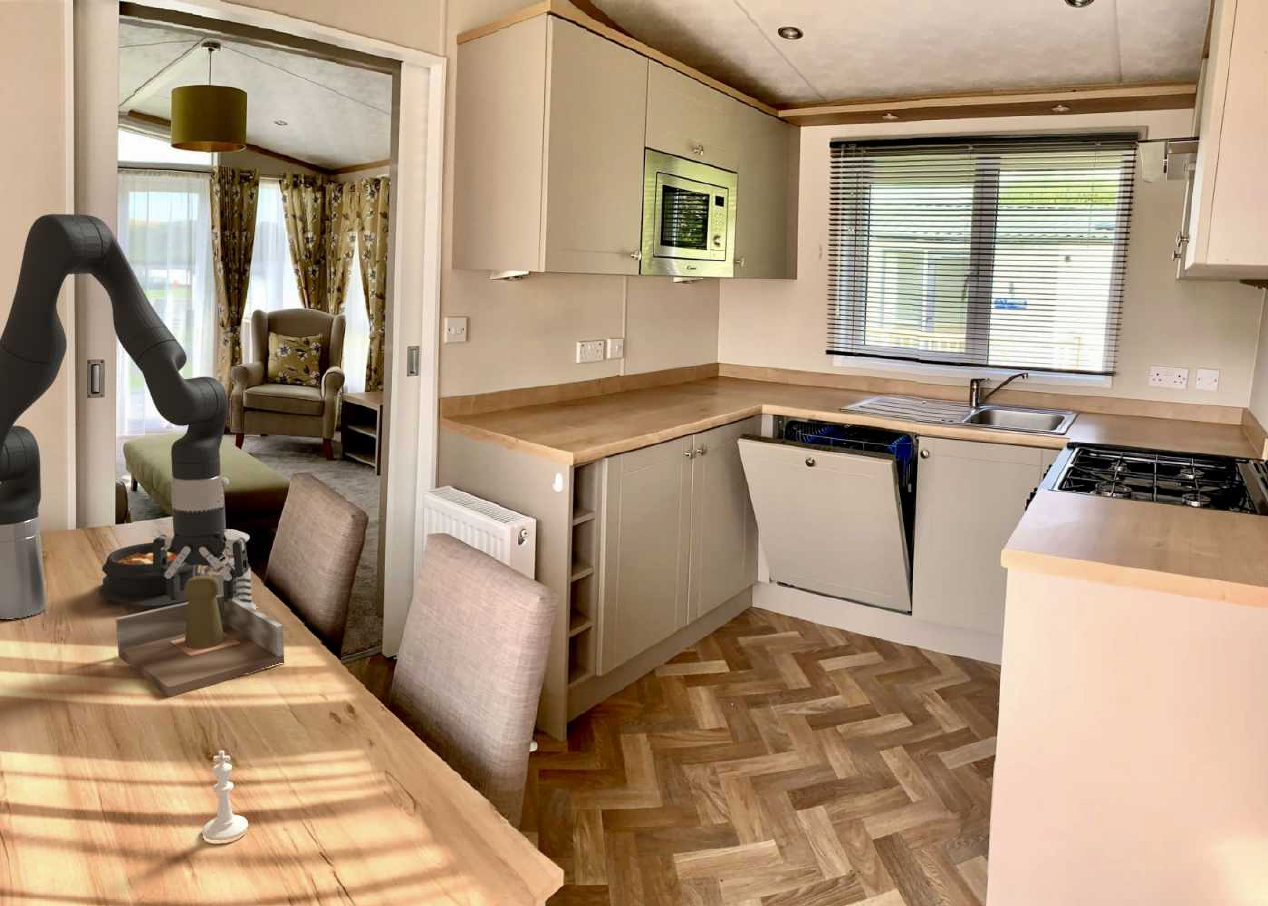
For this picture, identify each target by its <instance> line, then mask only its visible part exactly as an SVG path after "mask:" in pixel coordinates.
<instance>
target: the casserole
mask: <svg viewBox="0 0 1268 906" xmlns="http://www.w3.org/2000/svg"><path fill="white" fill-rule="evenodd" d="M178 555H179V554H178V553H177V552H176V551H175V549H174V548H173V547H172V545H171V546H170V548H169V549H168V550H167V565H168V566H171V564H172V562H173V561H174V560H175V559H176V557H177V556H178ZM106 558H107V559H106V562H105V563H104V564H103V566H102V567H101V570H102V572H103V573H104V574H105V577H103V578H102V585H101V586H100V588H99V590H98V595H100V597H102V598H103V599H106V600H108V601H112V602H115V603H116V602H117V603H125V604H129V605H135V606H138V607H142V608H149V609H151V608H163V607H168V606H172V605H177V604H181V603H186V602H189V599H188V598H187V596H186V595H185V589H184V587H185V584H186V582H187V581H188V580H189V579H191V578H193V568H194V565H188V564H187V563H185V564H184V565H183V566H182V568H181V569H180V570H179V572H178V573H177V575H180V597H179V598H178V599H177V600H171V599H170V596H168V595H167V587H166V578H165V576H163V575H161V574H155V573H154V572H153V542H146V543H140V544H139V543H138V544H134V545H129V546H125V547H122V548H118V549H116V550H114V551H112V552H111V553H110V554H108V556H107V557H106ZM199 566H200V565H199V564H197V565H196V566H195V577H196V576H200V572H199ZM202 576H204V573H202Z"/></svg>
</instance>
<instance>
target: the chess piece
mask: <svg viewBox="0 0 1268 906" xmlns="http://www.w3.org/2000/svg"><path fill="white" fill-rule="evenodd" d="M212 758H213V759H212V760H213V762H218V764H216V765H214V766H213V768H212V772H213V774H214V776H215V779H216V782H217V783H215V784H214V785H213V788H212V790H213V792H214V793H217V794H218V804H217V814H216V815H217V816H216V817H215V818H213V819H211V820H209V821H208V822H207V823H206V824H204V827H203V828H202V834H203V835H204V836H205V837H206V838H207V839H210V840H220V841H221V840H227V839H231V838H234V837H237V836H240V835H241V834H242V833H243V832H244V831H245V830H246V829H247V827H248V826H249V823H248V822H249V821H248V820H247V818H245V817H244V816H242V815H238V814H234V813H233V811H232V809H233V808H232V805H231V801H230V800H231V799H230V795H229V792H230V791H232V790H233V789H234V783H233V782H232V781H229V779H230V776H231V772H232V770H233V765H232V764H231V763H228V762H230V761H231V755H225V750H219V751H218V755H214V756H213V757H212Z"/></svg>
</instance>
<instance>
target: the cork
mask: <svg viewBox="0 0 1268 906" xmlns="http://www.w3.org/2000/svg"><path fill="white" fill-rule="evenodd" d="M184 589H185V595H186V596H187V598H188V599H189V602H188V613H187V625H186V636H185V646H186V647H188V648H192V649H206V648H211V647H215V646H218V645H220V644H222V643H223V642H224V641H225V639H224V634H223V629H222V624H221V619H220V614H219V609H218V604H217V599H216V595H217V594H218V592H219V583H218V580H217V579H216V578H215V577H212V576H196V577H193V578H191V579H189V580H188V581H187V582H186V584H185V587H184Z"/></svg>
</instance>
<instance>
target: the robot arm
mask: <svg viewBox="0 0 1268 906" xmlns="http://www.w3.org/2000/svg"><path fill="white" fill-rule="evenodd" d="M113 233H114V232H112V230H111V229H110V227H109V226H108V225H107V223H105V221H103V220H102V219H100V218H98V217H96V216H93V215H88V214H74V213H73V214H70V213H69V214H68V213H67V214H66V213H63V214H60V213H51V214H44V215H41V216H39V217H38V218H36V219H35V220H34V222H33V223H32V224H31V226H30V228H29V231H28V233H27V238H26V241H25V245H24V249H23V255H22V260H21V263H20V264H21V265H20V270H19V275H18V282H17V286H16V289H15V294H14V296H13V299H12V304H11V307H10V310H9V312H8V313H9V314H8V317H7V319H6V324H5V326H4V329H3V330H2V334H1V337H0V619H2V618H3V619H7V618H9V619H10V618H19V619H21V618H20V617H25V618H28V617H27V616H29V617H32V616H36V615H38V614H40V613H42V612H44V611H45V610H46V609H47V607H48V606H47V599H46V598H47V597H46V584H45V573H44V562H43V561H44V560H43V547H42V539H41V528H40V517H39V516H40V514H39V506H40V502H41V499H42V485H41V484H42V483H41V480H42V478H41V457H40V456H41V453H40V448H39V445H38V442H37V440H36V437H35V436H34V434H33V432H32V431H30V430H29V428H27V427H25V426H21V425H15V423H16V421H18V419H19V418H20V417H21V415H23V414H24V413H25V412H26V411H28V409H29V408H30V407H31V406H33V405H34V404H35V403H36V402H37V401H38V400H39V399H40V398H41V397H43V395H44V394H45V393H46V392H47V391H48V390H49V389H50V387H51V386H52V385H53V384H54V383H55V380H56V379H57V376H58V375H59V371H60V369H61V366H62V363H63V360H64V357H65V355H66V352H67V343H68V341H67V337H66V336H67V335H66V333H65V329H64V326H63V324H62V321H61V319H60V316H59V313H58V308H57V305H58V304H57V303H58V299H59V295H60V292H61V289H62V286H63V284H64V281H65V279H66V277H68V275H78V274H79V275H86V274H88V275H89V274H90V275H91V276H93V277H94V278H95V279H96V281H98V282H99V284H100V285H101V286H102V287H103V288H104V290H105V291H106V293H107V295H108V296H109V299H110V303H111V308H112V321H113V328H114V331H115V335H116V337H117V339H118V341H119V343H120V344H121V346H122V347H123V349H124V351H125V352H126V353H127V354H128V355H129V357H130V359H131V360H132V361H133V363H135V365H136V366H137V368H138V369H139V370H140V371H141V373H142V375H143V379H144V381H145V383H146V386H147V389H148V391H149V393H150V397H151V400H152V402H153V405H154V407H155V409H156V410H157V412H158V413H159V415H160V416H161V417H162V418H163V419H165V420H166V422H168V423H170V424H171V425H175V426H177V427H178V426H179V427H184V426H187V429H186V433H185V434H184V435H183V436H182V437H180V438H178V439H177V440H175V441H174V442H173V443H172V446H171V451H170V457H171V473H172V475H171V477H172V478H171V479H172V480H171V488H170V489H171V493H170V494H171V512H172V514H171V515H172V530H173V537H169V536H167V535H166V534H161V535H159V536H158V537H155V539H154V540H153V541H152V543H153V572H154V573H155V574H161V575H163V576H165V578H166V587H167V595H168V596H170V599H171V600H177V599H178V598H179V597H180V575H177V573H178V572H179V570H180V569H181V568H182V566H183V565H184V564H185V563H187V564H188V565H197V564H199V566H201V565H202V566H203V567H208V565H210V564H211V565H212V566H213V568H214V569H215V570H216V571H219V572H220V573H219V575H222V576H223V577H224V579H225V580H224V581H223V590H224V602H230V601H231V600H232V599H233V598H234V597H235V596H236V593H237V591H236V578H237V577H242V576H243V575H244V574H245V573H246V572H247V571H248V565H249V563H248V561H247V558H248V551H247V545H246V543H247V542H245V539H244V538H242V537H241V538H239V539H237V540H227V539H226V537H225V534H224V529H225V526H224V504H223V502H224V500H225V494H224V495H223V485H222V481H221V478H222V475H221V456H220V455H221V454H220V449H221V443H222V441H223V436H224V432H225V428H226V423H227V418H228V414H229V413H228V412H229V398H228V394H227V392H226V389H225V387H224V386H223V384H222V383H221V382H220V381H219V380H218V379H216V378H214V377H211V376H197V377H193V378H192V377H191V378H183V376H182V375H181V374H180V371H181V370H182V369H183V368H184V366H185V365H186V363H187V359H188V358H187V353H186V351H185V350H184V348H183V347H182V345H181V343H180V342H179V341H178V340H177V339H176V337H175V336H174V335H173V333H172V332H171V330H170V329H169V328H168V327H167V326H166V324H165V323H164V321H163V320H162V319H161V318H160V316H159V315H158V313H157V312H156V311H155V309H154V307H153V306H152V304H151V303H150V301H149V298H148V297H147V296H146V295H147V294H146V293H145V292H144V290H143V287H142V286H141V284H140V282H139V280H138V278H137V276H136V274H135V272H134V270H133V268H132V266H131V264H130V263H129V261H128V259H127V256H126V254H125V253H124V251H123V249H122V247H121V245H120V243H119V242H118V240H117V238H116V237H115V235H114V234H113ZM171 545H172V547H173V548H174V549H175V551H176V552H177V553H178V554H179V555H178V556H177V557H176V559H175V560H174V561H173V562H172V564H171V566H168V565H167V550H168V549H169V548H170V546H171ZM226 547H227V548H228V550H229V551H230V553H231V554H232V555H233V556H234V566H235V568H234V567H233V566H232V564H231V563H230V560H229V558H228V557H227V556H226V552H224V551H226ZM31 615H32V616H31Z"/></svg>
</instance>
